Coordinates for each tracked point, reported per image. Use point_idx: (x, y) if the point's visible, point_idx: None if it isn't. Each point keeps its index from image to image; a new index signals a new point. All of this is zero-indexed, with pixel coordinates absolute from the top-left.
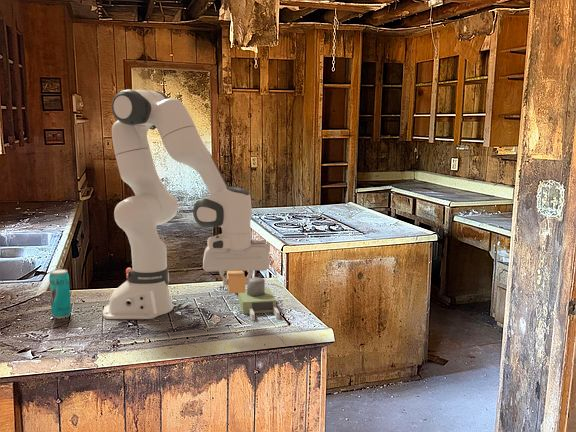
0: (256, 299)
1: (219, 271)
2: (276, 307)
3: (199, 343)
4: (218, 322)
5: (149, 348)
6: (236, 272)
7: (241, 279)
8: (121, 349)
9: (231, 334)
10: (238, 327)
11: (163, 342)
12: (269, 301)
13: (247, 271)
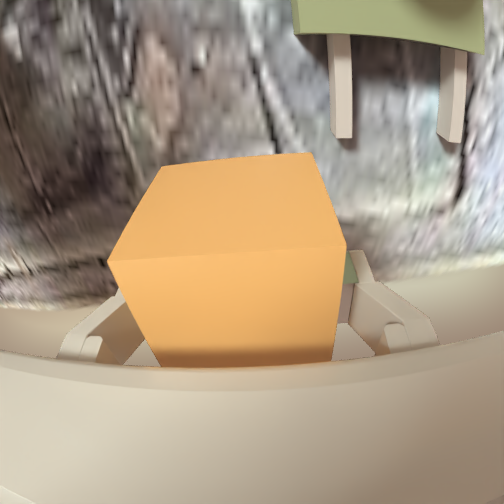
0: (389, 2)
1: (65, 351)
2: (465, 71)
3: None
4: (174, 135)
5: (49, 303)
6: (245, 324)
7: None
8: (9, 297)
9: None
10: None
11: (59, 281)
12: (453, 47)
13: (383, 332)
